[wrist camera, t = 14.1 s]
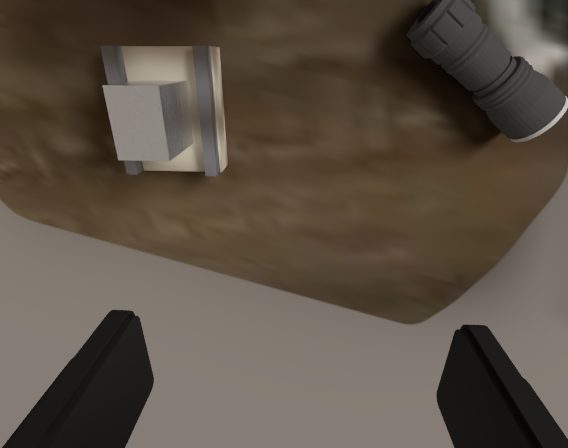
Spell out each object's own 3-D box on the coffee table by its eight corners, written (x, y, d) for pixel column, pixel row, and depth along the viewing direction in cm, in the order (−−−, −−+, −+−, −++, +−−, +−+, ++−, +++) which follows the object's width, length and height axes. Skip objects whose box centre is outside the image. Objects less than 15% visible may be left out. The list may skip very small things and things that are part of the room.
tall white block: (141, 80, 33) (102, 85, 26) (186, 80, 33) (158, 85, 26) (152, 145, 36) (119, 163, 29) (194, 145, 35) (170, 164, 29)
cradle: (122, 47, 34) (97, 45, 30) (219, 47, 34) (207, 45, 30) (143, 162, 40) (124, 174, 36) (227, 164, 39) (218, 176, 35)
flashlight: (394, 39, 33) (410, 35, 28) (437, -15, 31) (461, -29, 26) (499, 136, 36) (529, 147, 31) (544, 93, 34) (583, 98, 29)
